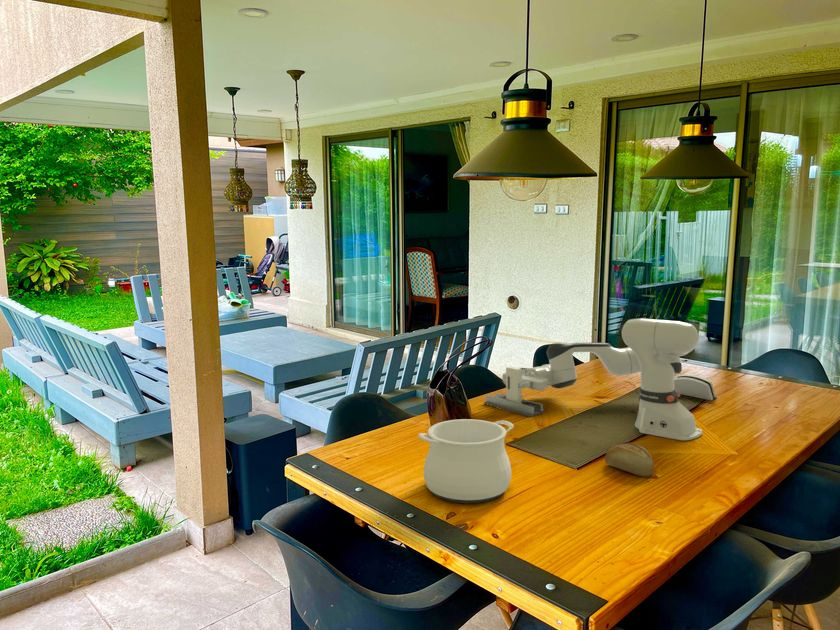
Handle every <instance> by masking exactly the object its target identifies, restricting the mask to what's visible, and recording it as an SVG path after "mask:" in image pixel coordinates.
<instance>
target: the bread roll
mask: <svg viewBox="0 0 840 630" xmlns="http://www.w3.org/2000/svg"><path fill="white" fill-rule="evenodd" d="M604 461H605V463H606V464H607V465H608V466H609V467H613V468H616V469H619V470H622V471H624V472H625V471H626V472H628V473H630V474H634V475H637V476H639V477H644V478H646V477H647V478H648V477H650V476H652V475H653V473H654V471H655V469H654V468H655V467H654V465H655V464H654V460H653V458H652V455H651V454H650V452H649V451H648V450H647V449H646V447H643V446H642V445H640V444H638V443H635V442H634V443H633V442H629V441H627V442H626V441H625V442H622V443H618V444H616V445H614V446H613V447H611V448H609V449H608V450H607V452H606V454H605V456H604Z"/></svg>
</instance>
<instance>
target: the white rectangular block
mask: <svg viewBox="0 0 840 630" xmlns="http://www.w3.org/2000/svg"><path fill="white" fill-rule="evenodd" d="M521 368H522V367H515V366H511V365H510V366H506V367H505V373H506V385H505V395H506V400H510V401H514V402H517V403H522V399H523V397H522V394H523V392H522V391H523V388H519V387H518V384H519V383H522V369H521Z"/></svg>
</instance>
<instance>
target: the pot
mask: <svg viewBox="0 0 840 630" xmlns="http://www.w3.org/2000/svg"><path fill="white" fill-rule="evenodd" d="M502 425H505V426H508V428H507V429H506V428H505V427H503V426H502ZM514 428H515V427H514V424H513V423H512V422H510V421H507V420H503V419H501V420H497V421H494V422H492V421H488V420H484V419H472V418H471V419H469V418H468V419H467V418H462V419H450V420H445V421H441V422H437V423H435V424H433V425H431V426H430V427H429V428H428V430H427V433H425V432H419V433H418V435H417V436H418V438H419V439H420V440H421V441H423V442H425V443H429V447H428V448H429V450H428V452H427V455H426V457H425V460H424V464H423V480H424V481H425V482H424V483H425V484H426V487H427V489H429V491H430V492H431V493H432V494H433V495H435V496H436V497H438V498H440V499H441V500H444V501H448V502H450V503H456V504H480V503H485V502H489V501H492V500H494V499H495V500H496V499H497V498H499V497H500V496H502V495H503V494H504V493H505V492H506V491H507V489H509V485H510V483H511V480H512V466H511V461H510V459H509V458H510V457H509V455H508V454H507V453H508V452H507V450H506V448H505V446H506V445H505V437H506V436H507V434H508V432H510V431H511V430H513V429H514Z"/></svg>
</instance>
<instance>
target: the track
mask: <svg viewBox="0 0 840 630" xmlns="http://www.w3.org/2000/svg"><path fill="white" fill-rule="evenodd" d="M485 397H486V398H485V401H483V405H485V404H488V405H491V406H490V407H492V406H494V407H493V408H495V407H498V408H497V409H499V408H501V409H500V410H503V409H504V411H506V410H508V412H510V411H511V413H513V412H514V414H518V415H521V416H525V417H529V418H531V417H534V416H537V415H541V414H543V413H546V410H545V409H544V403H540V402H536V401H531V400H529V399H523V398H522V403H517V402H514V401H510V400H506V394H503V393H500V392H495V393H494V396H493V395H490V394H487V395H486V396H485ZM488 405H487V406H488Z"/></svg>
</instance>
